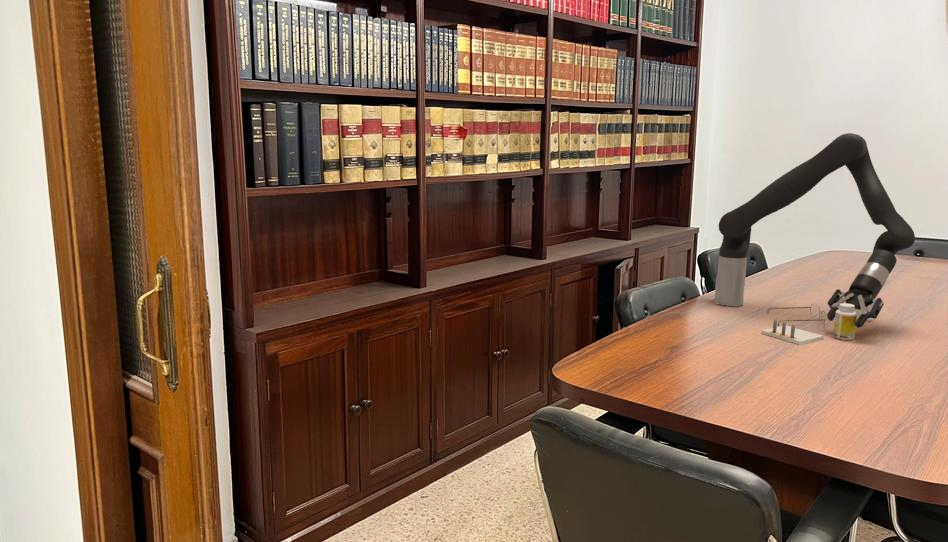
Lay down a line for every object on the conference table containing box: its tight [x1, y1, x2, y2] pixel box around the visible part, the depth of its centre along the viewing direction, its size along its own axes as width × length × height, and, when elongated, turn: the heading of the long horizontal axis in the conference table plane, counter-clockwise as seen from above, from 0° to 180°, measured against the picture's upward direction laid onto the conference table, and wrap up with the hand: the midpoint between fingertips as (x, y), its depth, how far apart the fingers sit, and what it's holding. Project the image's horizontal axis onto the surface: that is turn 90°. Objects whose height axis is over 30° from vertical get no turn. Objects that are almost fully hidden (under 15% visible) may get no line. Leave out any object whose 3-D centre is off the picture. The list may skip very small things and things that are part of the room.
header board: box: [761, 319, 825, 345], centre depth 206 cm, size 13×11×5 cm
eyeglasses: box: [766, 303, 826, 328], centre depth 223 cm, size 16×15×5 cm
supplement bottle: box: [833, 302, 857, 341], centre depth 204 cm, size 6×6×10 cm
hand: (842, 322), depth 203 cm, fingers open, 8 cm apart
